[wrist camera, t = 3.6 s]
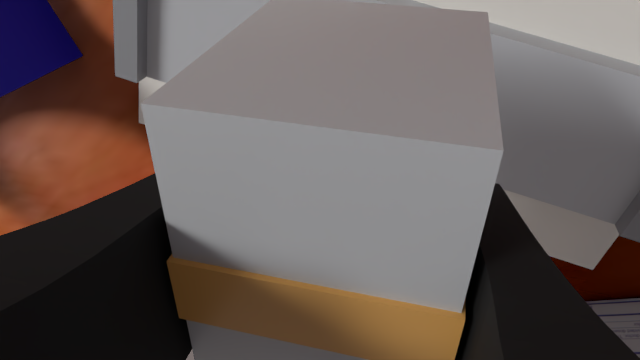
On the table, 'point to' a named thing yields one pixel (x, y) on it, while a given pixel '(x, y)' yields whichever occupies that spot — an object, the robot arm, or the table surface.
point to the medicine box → (621, 319)
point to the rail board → (513, 100)
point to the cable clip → (31, 43)
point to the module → (329, 181)
